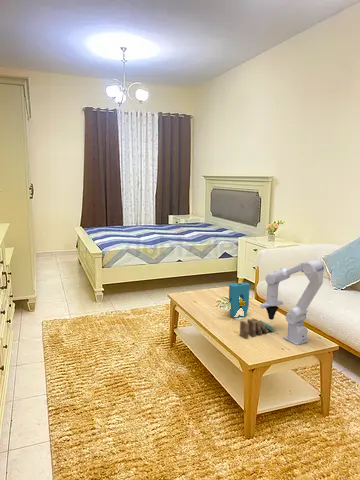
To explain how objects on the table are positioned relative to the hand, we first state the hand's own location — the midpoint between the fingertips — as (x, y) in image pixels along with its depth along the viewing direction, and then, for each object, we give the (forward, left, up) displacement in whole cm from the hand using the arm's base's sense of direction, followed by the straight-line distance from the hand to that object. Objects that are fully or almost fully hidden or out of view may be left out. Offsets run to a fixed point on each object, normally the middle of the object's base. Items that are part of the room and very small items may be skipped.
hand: (271, 318), depth 200 cm
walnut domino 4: (0, +4, -6) cm, 7 cm away
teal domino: (0, 0, -6) cm, 6 cm away
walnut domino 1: (0, +18, -6) cm, 20 cm away
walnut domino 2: (0, +14, -6) cm, 15 cm away
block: (+25, +2, -7) cm, 26 cm away
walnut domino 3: (0, +9, -6) cm, 11 cm away
